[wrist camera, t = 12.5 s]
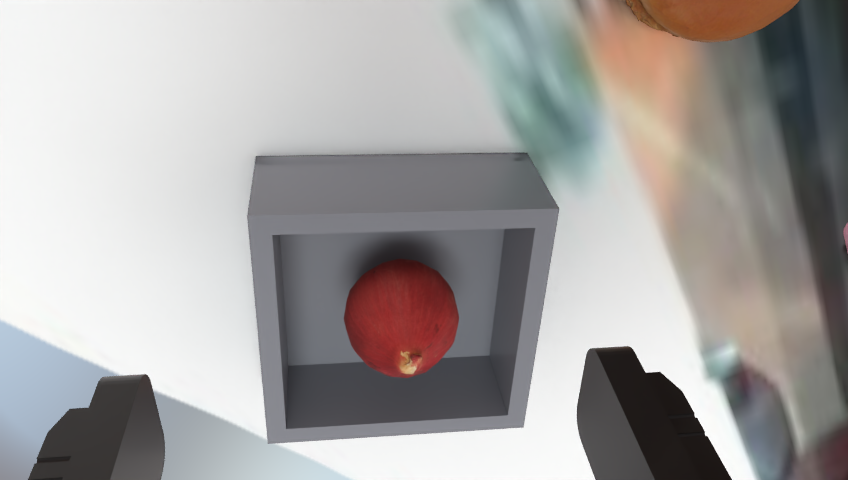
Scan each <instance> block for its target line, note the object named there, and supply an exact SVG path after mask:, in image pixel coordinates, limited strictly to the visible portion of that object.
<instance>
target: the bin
mask: <svg viewBox="0 0 848 480" xmlns="http://www.w3.org/2000/svg"><path fill="white" fill-rule="evenodd" d="M558 213H559V207H558V206H557V204H556V202H555V200H554V199H553V197H552V195H551V194H550V192H549V190H548V188H547V187H546V185H545V183H544V181H543V180H542V178H541V176H540V174H539V173H538V171H537V169H536V168H535V166H534V164H533V162H532V161H531V159H530V157H529V155H528V154H527V153H477V154H399V155H321V156H256V159H255V166H254V173H253V180H252V187H251V194H250V201H249V208H248V215H247V217H248V228H249V239H250V250H251V261H252V272H253V284H254V295H255V306H256V317H257V328H258V339H259V350H260V361H261V372H262V383H263V394H264V405H265V417H266V428H267V439H268V444H272V443H287V442H303V441H318V440H334V439H349V438H365V437H380V436H396V435H412V434H427V433H443V432H458V431H474V430H489V429H505V428H520V427H524V420H525V414H526V408H527V402H528V396H529V390H530V384H531V378H532V372H533V366H534V359H535V353H536V347H537V341H538V335H539V329H540V323H541V317H542V311H543V305H544V298H545V292H546V286H547V280H548V274H549V268H550V262H551V256H552V250H553V244H554V237H555V231H556V225H557V219H558ZM396 259H408V260H416V261H419V262H421V263H423V264H425V265H427V266H429V267H430V268H432V269H434V270H436V271H438V272H439V273H440V274H441V275H442V277H443V278H444V279H445V280H446V281H447V283H448V284H449V286H450V287H451V289H452V291H453V293H454V297H455V301H456V305H457V309H458V314H459V322H458V328H457V332H456V337H455V341H454V343H453V345H452V346H451V348H450V349H449V350H448V351H447V352H446V354H445V355H444V356H443V357H442V358H441V360H440V361H439V362H438V363H437V364H435V365H434V366H433V367H432V368H431V369H429V370H428V371H427V372H426V373H423V374H420V375H416V376H413V377H409V378H401V377H389V376H386V375H384V374H382V373H380V372H378V371H376V370H374V369H372V368H370V367H369V366H368V365H367V364H366V363H365V362H364V361H363V360H362V359H361V358H360V357H359V356H358V355H357V353H356V352H355V351H354V349H353V347H352V346H351V343H350V340H349V337H348V334H347V330H346V327H345V322H344V313H345V308H346V302H347V298H348V294H349V291H350V289H351V288H352V287H353V286H354V284H355V283H356V282H357V281H358V280H359V278H360V277H361V276H362V275H363V274H365V273H366V272H367V271H369V270H370V269H372V268H374V267H376V266H377V265H379V264H381V263H383V262H387V261H392V260H396Z"/></svg>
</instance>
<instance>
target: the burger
mask: <svg viewBox="0 0 848 480" xmlns="http://www.w3.org/2000/svg"><path fill="white" fill-rule="evenodd" d="M798 1H800V0H626V3H627V5H628V6H630V7H631V9H632V11H633V14H634V15H635V16H637V19H638V21H639V20H641V21H642V22H643V23H645V24H646V25H648V26H650V27H652V28H654V29H657V30H661V31H666V32H668V33H671V34H672V35H673V36H676V37H678V36H679V37H682V38H685V39H688V40H692V41H700V42H719V41H729V40H733V39H736V38H740V37H743V36H745V35H748V34H750V33H752V32H755V31H757V30H760V29H762V28H764V27H766V26H767V25H769V24H770V23H772V22H773V21H774V20H776V19H777V18H779V17H780V16H782V15H783V14H785V13H786V12H788V11H789V10H790V9H792V8H793V7H794V6H795V5H796V3H797V2H798Z"/></svg>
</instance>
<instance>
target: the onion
mask: <svg viewBox="0 0 848 480" xmlns="http://www.w3.org/2000/svg"><path fill="white" fill-rule="evenodd" d="M344 322H345V327H346V330H347V334H348V337H349V340H350V343H351V346H352V347H353V349H354V351H355V352H356V353H357V355H358V356H359V357H360V358H361V359H362V360H363V361H364V362H365V363H366V364H367V365H368V366H369V367H370V368H372V369H374V370H376V371H378V372H380V373H382V374H384V375H386V376H389V377H401V378H409V377H413V376H416V375H420V374H423V373H426V372H427V371H428V370H429V369H431V368H432V367H433V366H434V365H435V364H437V363H438V362H439V361H440V360H441V358H442V357H443V356H444V355H445V354H446V352H447V351H448V350H449V349H450V348H451V346H452V345H453V343H454V341H455V337H456V332H457V328H458V322H459V314H458V309H457V305H456V301H455V297H454V293H453V291H452V289H451V287H450V286H449V284H448V283H447V281H446V280H445V279H444V278H443V277H442V275H441V274H440V273H439V272H438V271H436V270H434V269H432V268H430V267H429V266H427V265H425V264H423V263H421V262H419V261H416V260H408V259H396V260H392V261H387V262H383V263H381V264H379V265H377V266H376V267H374V268H372V269H370V270H369V271H367V272H366V273H365V274H363V275H362V276H361V277H360V278H359V280H358V281H357V282H356V283H355V284H354V286H353V287H352V288H351V289H350V291H349V294H348V298H347V302H346V308H345V313H344Z"/></svg>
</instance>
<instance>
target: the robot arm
mask: <svg viewBox="0 0 848 480" xmlns="http://www.w3.org/2000/svg"><path fill="white" fill-rule="evenodd" d="M577 424H578V431H579V435H580V439H581V442H582V445H583V447H584V450H585V453H586V455H587V458H588V461H589V463H590V466H591V469H592V471H593V474H594V477H595V479H596V480H732V479H731V477H730V476H729V474H728V472H727V470H726V468H725V467H724V465H723V463H722V461H721V460H720V458H719V456H718V454H717V453H716V451H715V449H714V447H713V445H712V444H711V442H710V440H709V438H708V437H707V436H705V431H704V429H703V428H702V426H701V424H700V422H699V421H698V419H697V418H695V416H694V412H693V410H692V408H691V406H690V405H689V403H688V401H687V399H686V398H685V396H684V394H683V392H682V391H681V390H680V389H679V388H678V387H677V386H675V385H674V384H673V383H672V382H671V381H670V380H669V379H667V378H666V377H665V376H664V375H663V374H662V373H661V372H653V373H645V371H644V369H643V367H642V365H641V364H640V362H639V360H638V358H637V356H636V354H635V352H634V351H633V349H632V348H631V347H629V346H624V347H608V348H592V349H589V350H588V352H587V355H586V360H585V365H584V371H583V377H582V382H581V388H580V393H579V399H578V405H577ZM164 459H165V442H164V434H163V429H162V426H161V421H160V418H159V413H158V409H157V405H156V401H155V397H154V393H153V389H152V385H151V381H150V379H149V377H148V375H146V374H143V375H127V376H112V377H111V376H110V377H102V378H101V379H100V381H99V382H98V384H97V387H96V390H95V393H94V395H93V398H92V401H91V403H90V406H89V408H77V409H69V411H67V412H66V414H65V415H64V416H63V417H62V418H61V419H60V420H59V421H58V422H57V423H56V424H55V425H54V426H53V427H52V429H51V430H50V431H49V432H48V433H47V436H46V438H45V440H44V443H43V445H42V448H41V450H40V452H39V455H38V457H37V463H36V464H34V467H33V469H32V472H31V474H30V477H29V479H28V480H161V476H162V472H163V467H164Z"/></svg>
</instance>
